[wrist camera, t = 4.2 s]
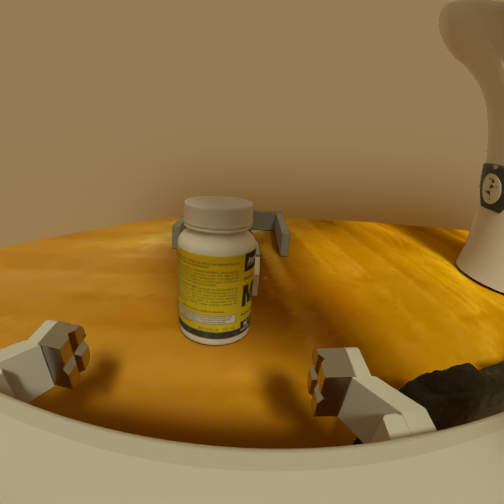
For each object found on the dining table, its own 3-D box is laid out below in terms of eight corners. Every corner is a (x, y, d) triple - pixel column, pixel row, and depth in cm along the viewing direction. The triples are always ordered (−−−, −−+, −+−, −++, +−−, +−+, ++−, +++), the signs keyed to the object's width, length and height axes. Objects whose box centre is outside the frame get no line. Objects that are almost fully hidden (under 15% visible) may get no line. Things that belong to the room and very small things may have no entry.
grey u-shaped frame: (279, 229, 45) (281, 212, 44) (287, 256, 35) (289, 234, 34) (190, 223, 44) (190, 206, 44) (172, 248, 34) (172, 226, 34)
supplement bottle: (253, 348, 19) (266, 212, 16) (176, 346, 18) (172, 208, 15) (246, 309, 23) (254, 195, 21) (182, 307, 23) (181, 192, 20)
